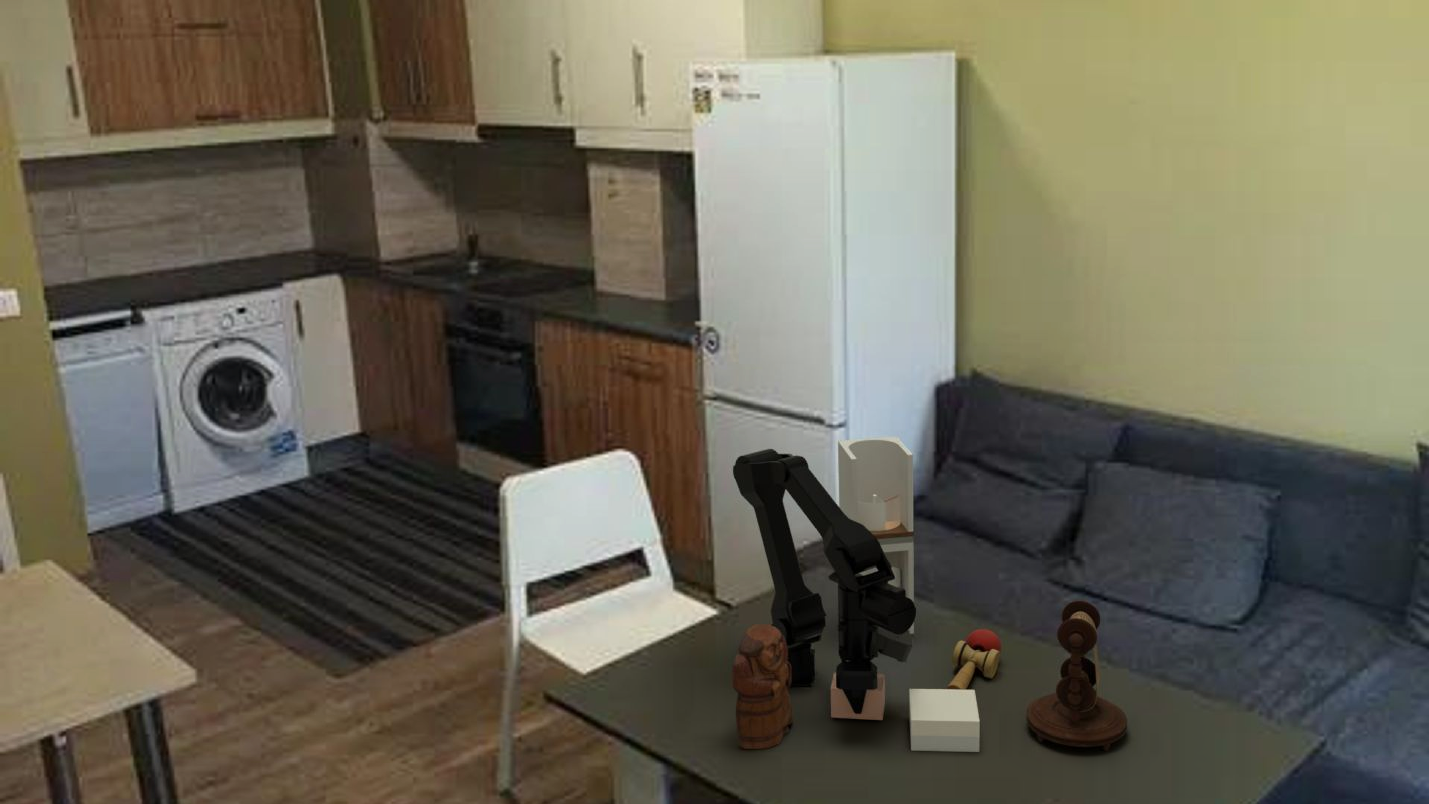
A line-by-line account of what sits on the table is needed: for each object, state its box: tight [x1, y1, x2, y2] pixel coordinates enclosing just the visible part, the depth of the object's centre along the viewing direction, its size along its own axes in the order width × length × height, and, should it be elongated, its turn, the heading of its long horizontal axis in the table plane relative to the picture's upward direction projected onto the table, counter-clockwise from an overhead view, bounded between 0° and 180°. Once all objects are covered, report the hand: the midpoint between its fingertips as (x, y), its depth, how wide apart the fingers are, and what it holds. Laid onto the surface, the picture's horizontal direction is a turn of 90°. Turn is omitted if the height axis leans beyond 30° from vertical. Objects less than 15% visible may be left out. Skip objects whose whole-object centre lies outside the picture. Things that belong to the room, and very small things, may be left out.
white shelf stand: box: [837, 436, 915, 645], centre depth 228 cm, size 11×11×35 cm
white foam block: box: [908, 688, 981, 753], centre depth 196 cm, size 10×10×5 cm
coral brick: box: [830, 672, 886, 721], centre depth 203 cm, size 8×6×5 cm
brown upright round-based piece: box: [1025, 600, 1128, 752], centre depth 193 cm, size 15×15×20 cm
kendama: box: [945, 628, 1002, 690], centre depth 214 cm, size 8×6×18 cm
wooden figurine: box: [732, 623, 793, 750], centre depth 197 cm, size 12×6×18 cm, turn 154°
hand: (858, 704), depth 203 cm, fingers closed on coral brick, 6 cm apart
